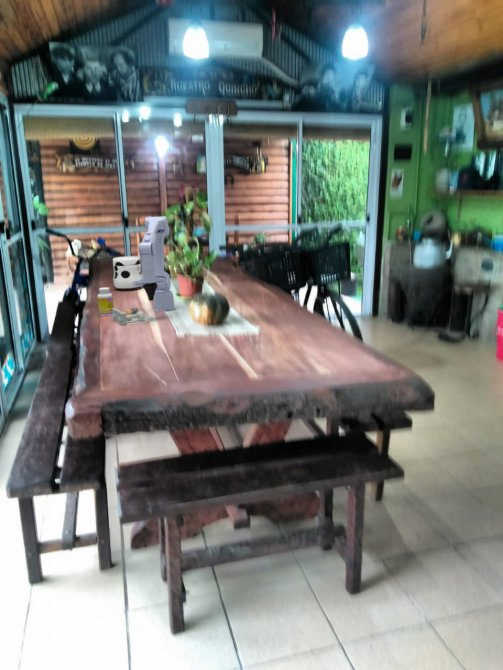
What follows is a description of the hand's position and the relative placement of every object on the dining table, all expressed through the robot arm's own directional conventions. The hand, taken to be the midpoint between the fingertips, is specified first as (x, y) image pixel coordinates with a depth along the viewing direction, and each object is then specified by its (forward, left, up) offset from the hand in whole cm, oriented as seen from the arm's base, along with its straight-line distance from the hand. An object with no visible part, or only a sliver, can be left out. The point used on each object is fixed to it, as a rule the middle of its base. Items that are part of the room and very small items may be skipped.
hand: (151, 300), depth 232 cm
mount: (+7, -4, -9) cm, 12 cm away
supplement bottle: (+14, -22, -9) cm, 28 cm away
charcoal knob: (+10, -8, -8) cm, 15 cm away
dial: (+10, -4, -8) cm, 13 cm away
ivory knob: (+10, 0, -8) cm, 12 cm away
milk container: (-18, -78, -9) cm, 81 cm away
